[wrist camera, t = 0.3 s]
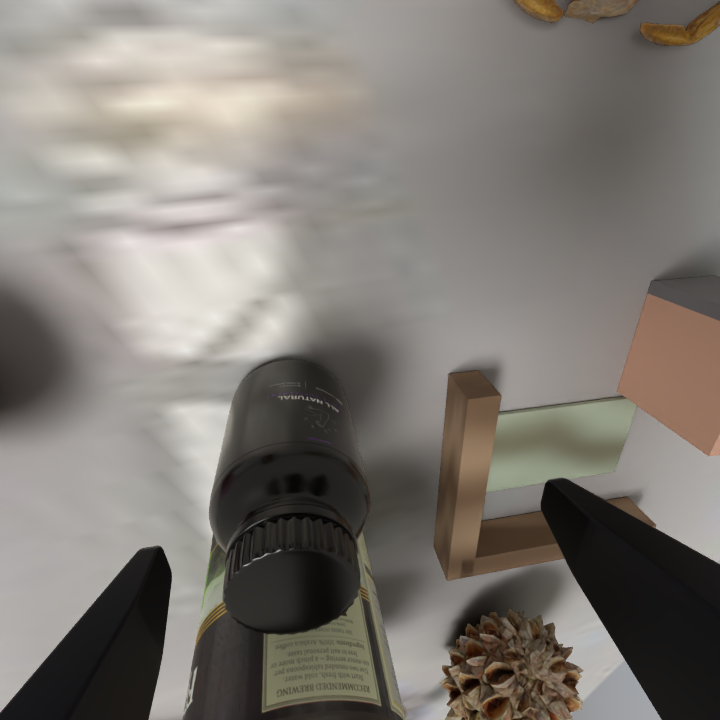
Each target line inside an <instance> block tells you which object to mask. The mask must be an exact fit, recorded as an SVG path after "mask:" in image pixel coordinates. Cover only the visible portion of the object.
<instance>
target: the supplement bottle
mask: <svg viewBox="0 0 720 720" xmlns="http://www.w3.org/2000/svg"><path fill="white" fill-rule="evenodd" d="M369 511H370V493H369V488H368V483H367V479H366V475H365V470H364V466H363V462H362V458H361V454H360V450H359V446H358V442H357V438H356V434H355V430H354V426H353V422H352V417H351V413H350V409H349V405H348V402H347V398H346V395H345V393H344V390H343V388H342V386H341V385H340V383H339V382H338V381H337V379H336V378H335V377H334V376H333V375H332V374H331V373H329V372H328V371H327V370H325V369H324V368H322V367H320V366H318V365H316V364H313V363H310V362H306V361H301V360H281V361H276V362H272V363H269V364H266V365H264V366H262V367H260V368H258V369H256V370H255V371H253V372H252V373H251V374H249V375H248V376H247V377H246V378H245V379H244V380H243V381H242V383H241V384H240V385H239V387H238V389H237V390H236V392H235V395H234V398H233V401H232V405H231V408H230V412H229V417H228V421H227V426H226V430H225V435H224V439H223V444H222V448H221V453H220V457H219V462H218V467H217V471H216V476H215V480H214V485H213V489H212V494H211V500H210V507H209V519H210V525H211V528H212V531H213V534H214V536H215V538H216V540H217V542H218V543H219V545H220V547H221V548H222V549H223V550H224V551H225V553H226V557H225V576H224V583H223V596H222V597H223V602H224V603H225V610H227V611H228V612H229V616H230V617H231V618H233V619H235V621H236V623H238V624H241V625H243V626H244V627H245V628H246V629H252V630H253V631H255V632H262V633H265V634H276V635H285V634H289V635H293V634H297V633H305V632H308V631H310V630H314V629H318V628H320V627H321V626H324V625H327V624H329V623H330V622H332V621H333V620H336V619H338V618H339V617H340V616H341V615H342V614H343V613H345V612H347V610H348V608H349V607H350V606H352V605H353V604H354V600H355V599H356V598H357V597H358V591H359V589H360V588H361V582H360V578H361V575H360V568H359V562H358V557H357V555H358V548H357V542H356V541H357V540H358V538H359V537H360V535H361V533H362V532H363V529H364V527H365V525H366V522H367V519H368V516H369Z"/></svg>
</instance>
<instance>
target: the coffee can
mask: <svg viewBox="0 0 720 720" xmlns="http://www.w3.org/2000/svg"><path fill="white" fill-rule="evenodd" d="M356 542H357V548H358V555H357V557H358V562H359V568H360V575H361V578H360V582H361V588H360V589H359V591H358V597H357V598H356V599H355V600H354V604H353V605H352V606H350V607H349V608H348V610H347V612H345V613H343V614H342V615H341V616H340V617H339V618H338V619H336V620H333V621H332V622H330V623H329V624H327V625H324V626H321V627H320V628H318V629H314V630H310V631H308V632H305V633H297V634H293V635H289V634H285V635H276V634H265V633H262V632H255V631H253V630H252V629H246V628H245V627H244V626H243V625H241V624H238V623H236V621H235V619H233V618H231V617H230V616H229V612H228V611H227V610H225V603H224V602H223V597H222V596H223V583H224V576H225V557H226V553H225V551H224V550H223V549H222V548H221V547H220V545H219V543H218V542H217V540H216V538H215V536H214V534H213V538H212V546H211V552H210V558H209V565H208V571H207V577H206V583H205V590H204V596H203V602H202V608H201V614H200V620H199V626H198V632H197V638H196V645H195V651H194V656H193V661H192V667H191V674H190V679H189V686H188V692H187V698H186V703H185V709H184V716H183V720H405V716H404V712H403V707H402V703H401V698H400V694H399V689H398V685H397V681H396V676H395V672H394V667H393V663H392V658H391V654H390V650H389V646H388V641H387V637H386V632H385V628H384V624H383V619H382V615H381V610H380V606H379V601H378V597H377V592H376V588H375V584H374V580H373V575H372V571H371V566H370V562H369V558H368V553H367V549H366V544H365V540H364V536H363V532H362V533H361V535H360V537H359V538H358V540H357V541H356Z"/></svg>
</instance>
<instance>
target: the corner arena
mask: <svg viewBox="0 0 720 720" xmlns="http://www.w3.org/2000/svg"><path fill="white" fill-rule="evenodd" d="M500 401H501V394H500V393H499V392H498V391H497V390H496V389H495V388H494V387H493V386H492V384H491V383H490V382H489V381H488V380H487V379H486V378H485V377H484V376H483V375H482V373H481V372H480V371H479V370H478V371H470V372H461V373H452V374H449V376H448V387H447V399H446V410H445V422H444V433H443V445H442V456H441V467H440V479H439V490H438V502H437V513H436V524H435V536H434V549H435V551H436V554H437V557H438V559H439V562H440V564H441V567H442V569H443V572H444V574H445V577H446V579H447V581H449V580H454V579H459V578H465V577H470V576H475V575H480V574H486V573H491V572H496V571H502V570H507V569H512V568H517V567H523V566H528V565H533V564H539V563H544V562H549V561H554V560H560V559H565V558H564V556H563V554H562V552H561V550H560V548H559V546H558V544H557V542H556V540H555V538H554V536H553V534H552V532H551V530H550V528H549V526H548V524H547V522H546V520H545V517H544V515H543V513H542V511H540V512H534V513H528V514H522V515H516V516H510V517H505V518H499V519H493V520H487V521H481V520H482V513H483V507H484V501H485V495H486V492H490V491H497V490H503V489H509V488H516V487H522V486H528V485H535V484H541V483H546V482H547V480H549V479H555V478H566V479H573V478H579V477H585V476H591V475H598V474H604V473H610V472H615V469H616V466H617V463H618V460H619V458H620V455H621V452H622V449H623V446H624V443H625V440H626V437H627V435H628V432H629V429H630V426H631V423H632V420H633V417H634V414H635V411H636V409H637V405H636V404H634V403H633V402H631V401H630V400H629V399H627V398H626V397H616V398H608V399H601V400H593V401H585V402H577V403H570V404H562V405H554V406H546V407H539V408H531V409H523V410H515V411H508V412H500V413H499V407H500ZM605 501H607V502H609V503H611V504H613V505H614V506H616V507H618V508H620V509H622V510H623V511H625V512H627V513H629V514H631V515H632V516H634V517H636V518H638V519H640V520H641V521H643V522H645V523H647V524H648V525H650V526H652V527H654V528H655V527H656V524H655V523H654V522H653V521H652V520H651V519H650V518H648V517H647V516H646V515H645V514H644V513H643V512H642V511H641V510H640V509H639V508H638V507H637V506H636V505H635V504H634V503H633V502H632V501H631V500H630V499H629V498H628V497H623V498H617V499H611V500H605Z"/></svg>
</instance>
